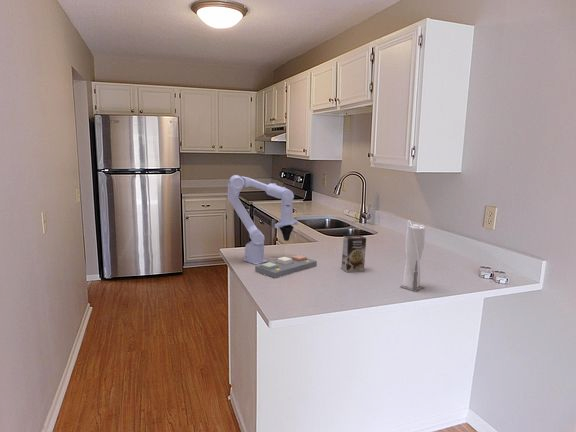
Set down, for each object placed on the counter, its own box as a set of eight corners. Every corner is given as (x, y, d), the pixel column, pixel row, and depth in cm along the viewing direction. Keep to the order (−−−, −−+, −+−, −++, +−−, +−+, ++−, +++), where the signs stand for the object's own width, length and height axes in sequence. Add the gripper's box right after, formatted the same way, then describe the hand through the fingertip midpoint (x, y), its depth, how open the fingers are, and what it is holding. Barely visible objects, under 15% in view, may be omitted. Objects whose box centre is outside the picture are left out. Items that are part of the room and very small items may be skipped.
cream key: (277, 264, 189) (277, 258, 189) (284, 262, 193) (284, 256, 192) (284, 267, 186) (284, 260, 185) (292, 265, 189) (292, 258, 189)
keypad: (255, 271, 183) (255, 265, 183) (296, 260, 203) (297, 255, 203) (275, 278, 174) (275, 272, 174) (316, 266, 194) (316, 260, 194)
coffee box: (346, 272, 185) (348, 238, 182) (341, 268, 191) (342, 235, 188) (364, 271, 188) (366, 237, 185) (358, 267, 194) (360, 234, 191)
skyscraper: (396, 286, 168) (401, 220, 164) (406, 282, 174) (411, 218, 169) (415, 291, 162) (421, 223, 158) (424, 287, 168) (430, 221, 163)
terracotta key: (291, 262, 197) (291, 256, 196) (298, 260, 200) (298, 254, 200) (299, 264, 193) (299, 258, 193) (306, 262, 197) (306, 256, 196)
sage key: (261, 270, 182) (261, 264, 182) (269, 268, 186) (269, 262, 185) (268, 273, 179) (269, 266, 178) (276, 271, 182) (277, 264, 182)
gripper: (282, 216, 190) (281, 244, 192) (302, 212, 200) (302, 239, 203) (271, 214, 195) (271, 241, 197) (292, 211, 205) (291, 237, 207)
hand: (286, 240), depth 200 cm, fingers closed
